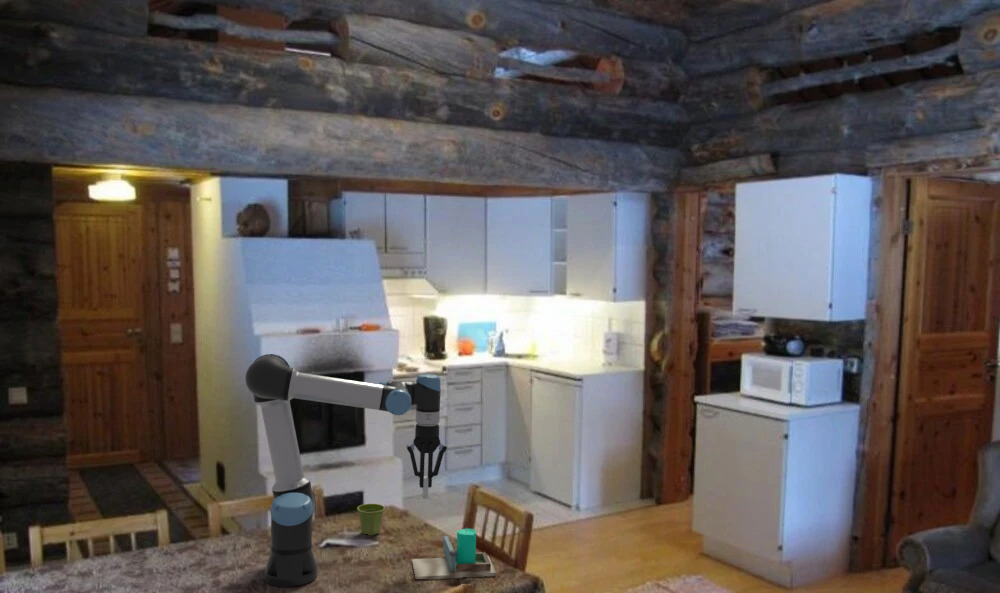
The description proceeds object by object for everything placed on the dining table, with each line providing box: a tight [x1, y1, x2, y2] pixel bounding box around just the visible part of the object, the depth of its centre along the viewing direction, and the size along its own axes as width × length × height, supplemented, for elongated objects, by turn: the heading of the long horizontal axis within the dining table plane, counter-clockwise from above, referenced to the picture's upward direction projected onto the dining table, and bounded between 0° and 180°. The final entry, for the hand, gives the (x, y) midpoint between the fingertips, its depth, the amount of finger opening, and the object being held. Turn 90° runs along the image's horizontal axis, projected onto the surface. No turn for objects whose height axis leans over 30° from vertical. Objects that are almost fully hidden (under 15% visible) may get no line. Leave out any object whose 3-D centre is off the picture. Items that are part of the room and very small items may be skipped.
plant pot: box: [356, 503, 386, 536], centre depth 279 cm, size 9×9×9 cm
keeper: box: [442, 535, 458, 572], centre depth 251 cm, size 2×17×6 cm, turn 12°
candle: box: [456, 528, 477, 564], centre depth 249 cm, size 6×6×12 cm
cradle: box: [411, 551, 497, 580], centre depth 248 cm, size 24×14×3 cm, turn 100°
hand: (425, 497), depth 259 cm, fingers closed
